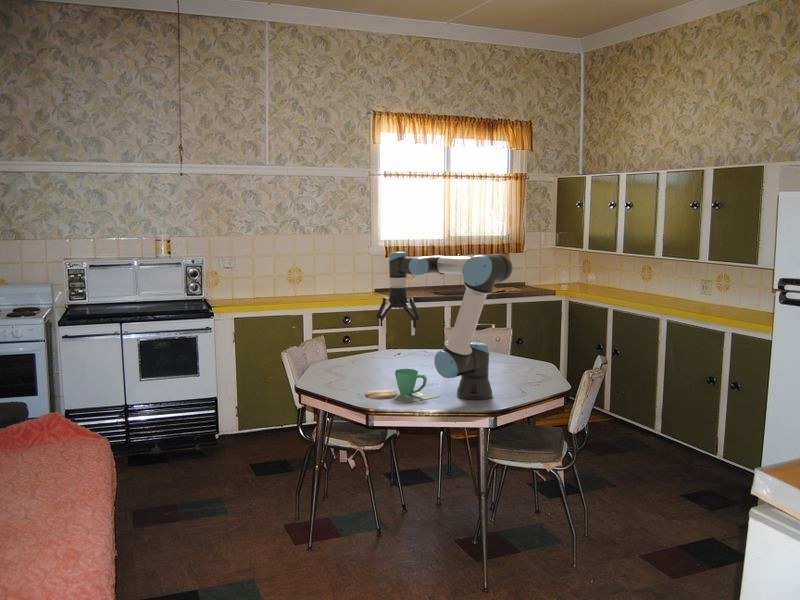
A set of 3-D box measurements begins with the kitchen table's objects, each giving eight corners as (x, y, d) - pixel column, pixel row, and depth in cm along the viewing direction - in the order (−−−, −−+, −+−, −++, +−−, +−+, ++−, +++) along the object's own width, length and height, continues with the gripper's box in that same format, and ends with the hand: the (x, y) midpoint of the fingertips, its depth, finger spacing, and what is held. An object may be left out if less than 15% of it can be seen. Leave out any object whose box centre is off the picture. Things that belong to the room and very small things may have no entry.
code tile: (440, 396, 313) (440, 396, 313) (406, 403, 303) (406, 402, 303) (415, 387, 328) (415, 387, 328) (381, 393, 317) (381, 393, 317)
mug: (390, 394, 315) (390, 372, 313) (401, 389, 323) (402, 367, 322) (420, 399, 307) (421, 376, 306) (431, 394, 316) (431, 371, 314)
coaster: (404, 395, 314) (404, 394, 314) (376, 400, 306) (376, 399, 306) (385, 388, 326) (385, 387, 325) (358, 393, 317) (358, 392, 317)
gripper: (427, 286, 323) (427, 334, 326) (374, 285, 332) (375, 331, 334) (422, 288, 316) (422, 336, 319) (368, 287, 325) (369, 334, 327)
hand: (398, 334), depth 327 cm, fingers open, 13 cm apart
